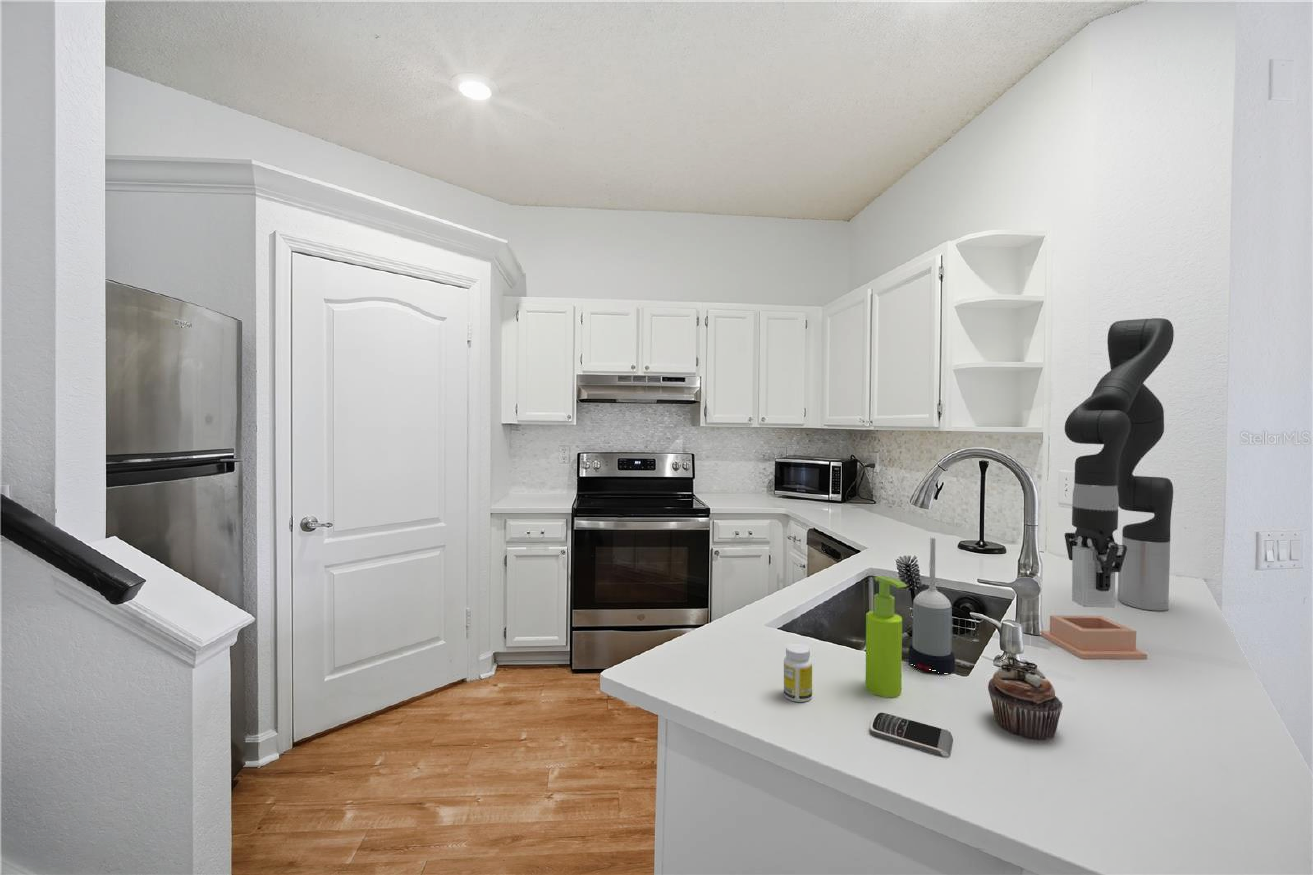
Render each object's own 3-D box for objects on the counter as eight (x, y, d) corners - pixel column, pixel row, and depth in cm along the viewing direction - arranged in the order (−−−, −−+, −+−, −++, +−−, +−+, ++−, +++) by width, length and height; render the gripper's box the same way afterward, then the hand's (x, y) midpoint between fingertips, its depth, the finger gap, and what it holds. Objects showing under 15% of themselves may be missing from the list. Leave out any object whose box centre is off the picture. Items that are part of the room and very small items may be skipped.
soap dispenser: (890, 703, 92) (892, 585, 92) (858, 685, 98) (859, 575, 98) (913, 695, 95) (915, 581, 94) (881, 678, 101) (882, 571, 101)
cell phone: (876, 718, 88) (876, 710, 88) (953, 740, 82) (954, 731, 82) (867, 737, 83) (867, 728, 83) (950, 762, 77) (950, 752, 77)
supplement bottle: (812, 691, 96) (813, 644, 96) (811, 705, 92) (811, 655, 92) (785, 687, 98) (785, 641, 98) (782, 700, 93) (782, 651, 93)
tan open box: (1040, 635, 122) (1040, 613, 121) (1099, 635, 121) (1099, 613, 121) (1081, 658, 110) (1082, 634, 109) (1147, 659, 109) (1147, 634, 109)
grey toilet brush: (915, 673, 103) (917, 541, 103) (903, 655, 111) (905, 532, 111) (961, 676, 102) (964, 543, 101) (946, 657, 110) (948, 534, 109)
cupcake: (1065, 751, 79) (1066, 682, 79) (986, 731, 84) (987, 666, 84) (1059, 720, 87) (1060, 658, 87) (987, 703, 92) (989, 645, 92)
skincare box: (1100, 601, 117) (1102, 546, 117) (1115, 608, 113) (1117, 550, 112) (1070, 600, 118) (1071, 545, 117) (1083, 607, 113) (1085, 550, 113)
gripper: (1143, 511, 107) (1140, 598, 108) (1086, 501, 122) (1084, 577, 122) (1104, 511, 107) (1102, 597, 108) (1052, 500, 122) (1050, 577, 122)
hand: (1092, 586), depth 115 cm, fingers closed on skincare box, 4 cm apart
